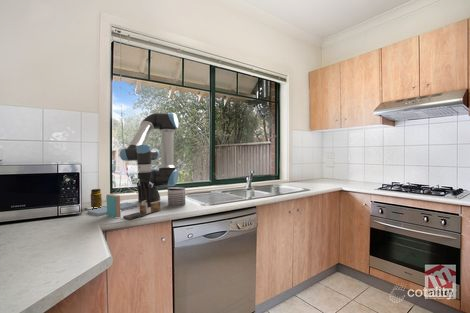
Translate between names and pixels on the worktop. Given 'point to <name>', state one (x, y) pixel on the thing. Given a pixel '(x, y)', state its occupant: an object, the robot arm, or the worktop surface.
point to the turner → (144, 210)
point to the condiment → (96, 198)
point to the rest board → (104, 209)
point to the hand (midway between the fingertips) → (146, 212)
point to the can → (176, 196)
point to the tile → (113, 205)
